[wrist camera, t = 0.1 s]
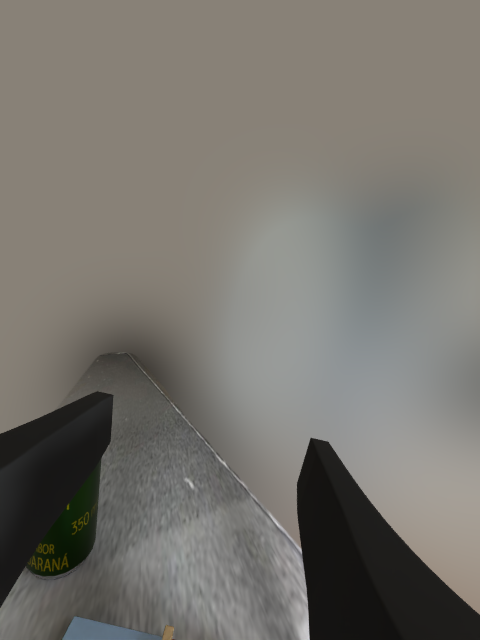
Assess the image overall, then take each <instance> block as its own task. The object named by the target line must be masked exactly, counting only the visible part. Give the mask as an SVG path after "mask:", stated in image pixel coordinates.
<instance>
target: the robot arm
mask: <svg viewBox="0 0 480 640" xmlns="http://www.w3.org/2000/svg"><path fill="white" fill-rule="evenodd" d="M112 409H113V395H111V394H107V393H102V392H95V393H92V394H90V395H88V396H85V397H83V398H81V399H79V400H77V401H75V402H72V403H70V404H68V405H66V406H64V407H62V408H60V409H57V410H55V411H53V412H51V413H49V414H47V415H44V416H42V417H40V418H38V419H35V420H33V421H31V422H28V423H26V424H23V425H21V426H19V427H16V428H14V429H11V430H9V431H7V432H4V433H1V434H0V607H1V606H2V604H3V602H4V601H5V599H6V597H7V596H8V594H9V592H10V591H11V589H12V587H13V586H14V584H15V582H16V581H17V579H18V577H19V576H20V574H21V573H22V571H23V569H24V568H25V566H26V565H27V563H28V561H29V560H30V558H31V557H32V555H33V553H34V552H35V550H36V549H37V547H38V545H39V544H40V542H41V541H42V539H43V538H44V537H45V535H46V534H47V532H48V531H49V529H50V528H51V527H52V525H53V524H54V523H55V521H56V520H57V519H58V517H59V516H60V515H61V513H62V512H63V511H64V509H65V508H66V507H67V505H68V504H69V503H70V501H71V500H72V499H73V497H74V496H75V495H76V493H77V492H78V491H79V489H80V488H81V487H82V485H83V484H84V483H85V481H86V480H87V479H88V477H89V476H90V474H91V473H92V472H93V470H94V469H95V468H96V466H97V464H98V463H99V461H100V459H101V457H102V456H103V454H104V452H105V450H106V449H107V447H108V445H109V443H110V441H111V425H112ZM297 514H298V523H299V530H300V540H301V547H302V555H303V563H304V571H305V579H306V587H307V598H308V610H309V634H310V640H480V615H479V614H478V613H477V612H476V611H475V610H473V609H472V608H471V607H470V606H469V605H468V604H467V603H466V602H464V601H463V600H462V599H461V598H460V597H459V596H458V595H457V594H456V593H455V592H454V591H452V590H451V589H450V588H449V587H448V586H447V585H446V584H445V583H444V582H443V581H442V580H441V579H440V578H439V577H438V576H437V575H436V574H435V573H434V572H433V571H432V570H431V569H430V568H429V567H428V566H427V565H426V564H425V563H424V562H423V561H422V560H421V559H420V558H419V557H418V556H417V555H416V554H415V553H414V552H413V551H412V550H411V549H410V548H409V546H408V545H407V544H406V543H405V542H404V541H403V540H402V539H401V538H400V537H399V536H398V534H397V533H396V532H395V531H394V530H393V529H392V528H391V526H390V525H389V524H388V523H387V522H386V521H385V519H384V518H383V517H382V516H381V514H380V513H379V512H378V511H377V510H376V508H375V507H374V506H373V504H372V503H371V502H370V501H369V499H368V498H367V497H366V495H365V494H364V493H363V491H362V490H361V489H360V487H359V486H358V484H357V483H356V482H355V480H354V479H353V478H352V476H351V475H350V473H349V472H348V470H347V469H346V467H345V466H344V465H343V463H342V461H341V460H340V459H339V457H338V456H337V454H336V453H335V451H334V450H333V448H332V447H331V445H330V444H329V442H327V441H323V440H318V439H313V438H311V439H310V442H309V446H308V449H307V452H306V455H305V459H304V462H303V466H302V469H301V472H300V476H299V479H298V482H297Z"/></svg>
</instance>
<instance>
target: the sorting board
mask: <svg viewBox="0 0 480 640" xmlns="http://www.w3.org/2000/svg"><path fill="white" fill-rule="evenodd" d="M173 630H174V627H172V626H168V625H166V626H165V630H164V634H163V637H161V636H157V635H152V634H148V633H144V632H140V631H136V630H131V629H127V628H123V627H119V626H115V625H110V624H106V623H102V622H98V621H94V620H89V619H85V618H81V617H77V616H74V618H73V620H72V621H71V623H70V625H69V627H68V629H67V631H66V633H65V635H64V637H63V639H62V640H174V639H172V636H173Z"/></svg>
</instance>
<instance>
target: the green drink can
mask: <svg viewBox="0 0 480 640" xmlns="http://www.w3.org/2000/svg"><path fill="white" fill-rule="evenodd" d="M100 470H101V459H100V461H99V463H98V464H97V466H96V468H95V469H94V470H93V472H92V473H91V474H90V476H89V477H88V479H87V480H86V481H85V483H84V484H83V485H82V487H81V488H80V489H79V491H78V492H77V493H76V495H75V496H74V497H73V499H72V500H71V501H70V503H69V504H68V505H67V507H66V508H65V509H64V511H63V512H62V513H61V515H60V516H59V517H58V519H57V520H56V521H55V523H54V524H53V525H52V527H51V528H50V529H49V531H48V532H47V534H46V535H45V537H44V538H43V539H42V541H41V542H40V544H39V545H38V547H37V549H36V550H35V552H34V553H33V555H32V557H31V558H30V560H29V561H28V563H27V565H26V567H27V568H28V569H29V570H30V571H31V572H32V573H33V574H34V575H35V576H36V577H38V578H42V579H45V580H46V579H57V578H60V577H64V576H66V575H68V574H70V573H71V572H73V571H75V570H76V569H77V568H78V567H79V566H80V565H81V564H83V562H84V561H85V559H86V558H87V556H88V555H89V553H90V552H91V550H92V549H93V546H94V542H95V538H96V524H97V511H98V497H99V484H100Z"/></svg>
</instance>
